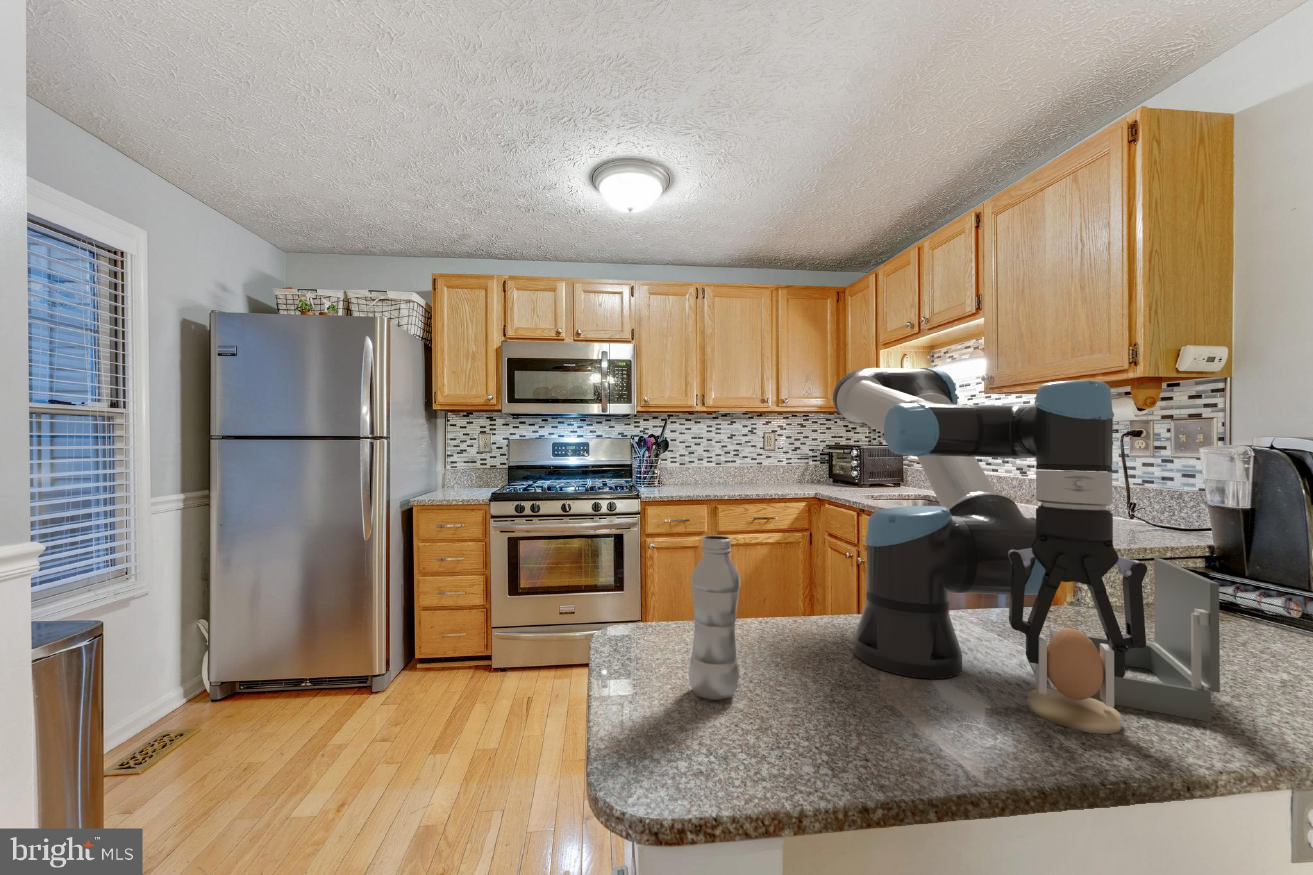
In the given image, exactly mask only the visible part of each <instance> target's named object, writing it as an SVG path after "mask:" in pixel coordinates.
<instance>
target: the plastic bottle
mask: <svg viewBox="0 0 1313 875" xmlns="http://www.w3.org/2000/svg"><path fill="white" fill-rule="evenodd" d="M702 537H703V538H702V547H701V552H703V556H702V558H701V559H700V560H699V561H698V563H697V564H696V566H695V567H694V569H693V571H692V574H691V577H690V579H691V580H690V582H691V584H690V585H691V592H692V601H693V602H692V603H693V620H694V622H693V624H694V626H693V627H694V628H693V629H694V631H693V632H694V633H693V641H692V650H691V651H692V652H691V655H690V656H691V657H690V660H689V661H690V662H689V666H688V679H689V680H688V682H689V686H690V687H691V689H692V691H693V692H694V694H695V695H696V696H698V697H700V698H702V699H706V700H716V701H720V700H721V701H722V700H725V699H729V698H731V697H732V696H733V695H734V694H735V693H736V691H737V689H738V685H739V679H740V670H739V663H738V657H737V642H736V622H737V608H738V601H739V596H740V589H741V577H740V573H739V571H738V568H737V567H736V566H735V564H734V562H733V561H732V559H731V558H730V554H731V553H732V547H731V544H732V542H731V540H732V539H731V537H729V536H725V535H704V536H702Z"/></svg>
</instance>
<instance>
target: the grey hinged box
mask: <svg viewBox="0 0 1313 875" xmlns="http://www.w3.org/2000/svg"><path fill="white" fill-rule="evenodd" d="M1153 561H1154V562H1153V563H1154V564H1153V565H1154V567H1153V568H1154V569H1153V570H1154V571H1153V573H1154V574H1153V575H1154V583H1153V584H1154V588H1153V589H1154V590H1153V591H1154V597H1153V598H1154V599H1153V600H1154V601H1153V602H1154V615H1153V616H1154V641H1152V642H1151V644H1147V643H1146V646H1145V647H1144V648H1130V649H1128V651H1127V652H1126V653H1125V667H1126V666H1127V667H1132V668H1139V669H1145V670H1150V672H1152V674H1154V675H1155V676H1156V677H1157V678H1158V680H1160V681H1153V680H1147V679H1142V678H1135V677H1130V676H1126V675H1124V677H1123V678H1120V677H1114V705H1117V706H1121V707H1127V708H1133V709H1136V710H1137V709H1139V710H1143V711H1148V712H1154V713H1159V714H1163V713H1165V714H1164V715H1170V716H1174V715H1176V717H1179V716H1180V718H1185V717H1187V719H1190V720H1195V719H1196V721H1201V720H1203V721H1202V722H1207V723H1212V702H1211V699H1212V696H1215V693H1221V684H1220V683H1221V680H1220V679H1221V677H1220V672H1221V671H1220V669H1221V667H1220V666H1221V665H1220V664H1221V662H1220V660H1221V658H1220V656H1221V655H1220V654H1221V653H1220V647H1221V646H1220V583H1218V582H1216V581H1213V580H1211V579H1209V578H1207V577H1204V576H1202V575H1199V574H1198V573H1195V572H1192V571H1190V570H1189V569H1186V568H1185V567H1184V568H1183V567H1181V566H1179V565H1177V564H1175V563H1172V562H1170V561H1167V560H1165V559H1163V558H1159V557H1158V558H1156V557H1154V560H1153ZM1058 632H1059V631H1057V630H1052V629H1051V630H1049V641H1050V640H1051V639H1052V638H1053V636H1054V635H1055V634H1056V633H1058ZM1086 636H1087V637H1088V638H1089V639H1091V640H1092V642H1093V643H1094V645H1095V646H1096V648H1097V650H1098V652H1099V654H1100V643H1101V644H1108V645H1109V642H1108V640H1107V637H1106V638H1105V637H1100V636H1099V637H1098V636H1093V635H1092V636H1091V635H1086ZM1090 698H1093V699H1096V700H1098V701H1101V702H1103V701H1102V699H1101V698H1100V689H1099V690H1098V692H1097V693H1096V694H1094V695H1093V696H1091V697H1090ZM1103 703H1104V702H1103ZM1177 715H1178V716H1177Z"/></svg>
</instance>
